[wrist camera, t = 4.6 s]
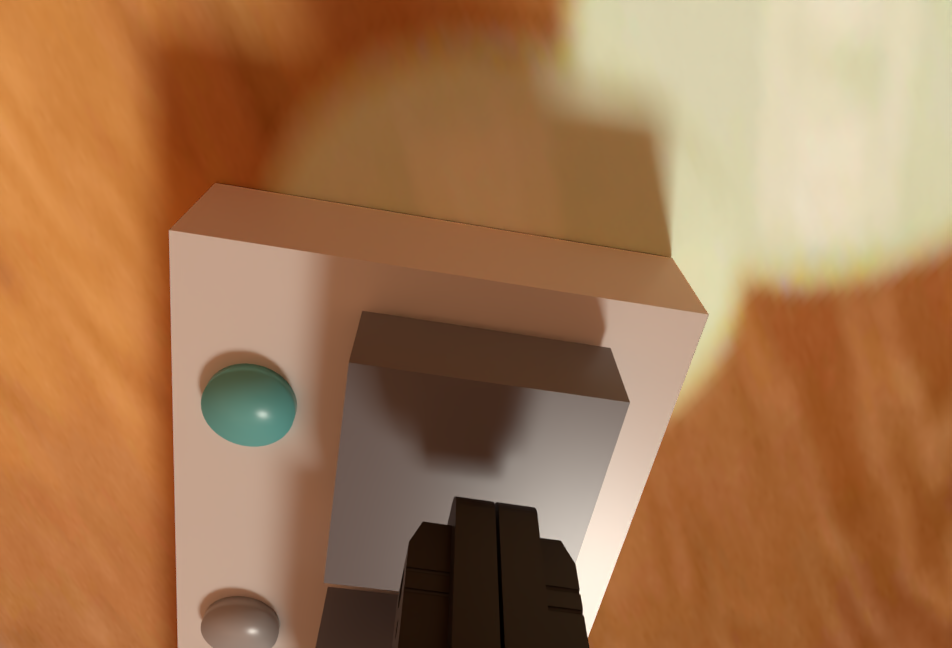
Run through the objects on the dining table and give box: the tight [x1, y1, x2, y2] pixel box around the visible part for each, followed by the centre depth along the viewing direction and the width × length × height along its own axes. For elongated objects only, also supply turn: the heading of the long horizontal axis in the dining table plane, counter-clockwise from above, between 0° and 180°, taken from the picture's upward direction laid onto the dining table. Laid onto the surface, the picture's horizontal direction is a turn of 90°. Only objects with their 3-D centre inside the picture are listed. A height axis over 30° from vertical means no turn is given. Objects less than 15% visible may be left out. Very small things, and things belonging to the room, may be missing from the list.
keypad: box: [169, 183, 709, 648], centre depth 21 cm, size 22×11×3 cm, turn 170°
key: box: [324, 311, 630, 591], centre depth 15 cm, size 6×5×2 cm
